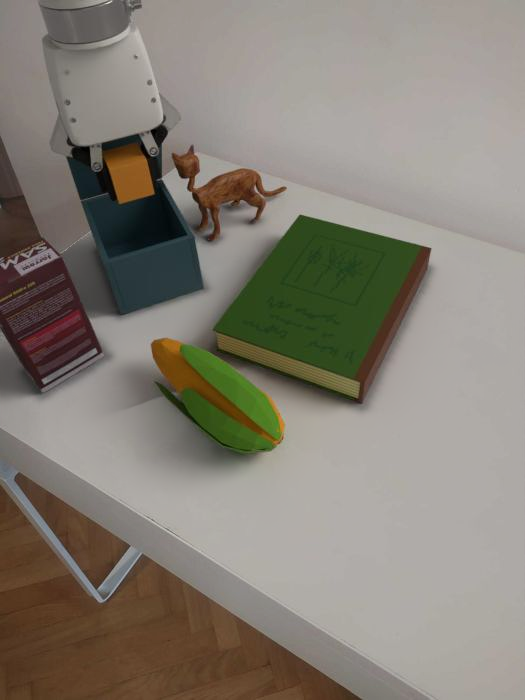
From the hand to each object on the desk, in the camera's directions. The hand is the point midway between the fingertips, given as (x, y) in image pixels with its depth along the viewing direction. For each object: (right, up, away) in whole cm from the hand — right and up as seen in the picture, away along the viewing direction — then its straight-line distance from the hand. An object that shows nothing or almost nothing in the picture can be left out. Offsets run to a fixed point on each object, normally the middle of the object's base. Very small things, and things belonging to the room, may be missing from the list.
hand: (131, 187), depth 66 cm
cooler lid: (-3, +4, +4) cm, 7 cm away
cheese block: (0, 0, 0) cm, 0 cm away
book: (+24, -13, +7) cm, 28 cm away
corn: (+9, -26, -2) cm, 27 cm away
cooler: (-1, -8, +14) cm, 16 cm away
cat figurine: (+12, +1, +21) cm, 24 cm away
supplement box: (-9, -21, +3) cm, 23 cm away
